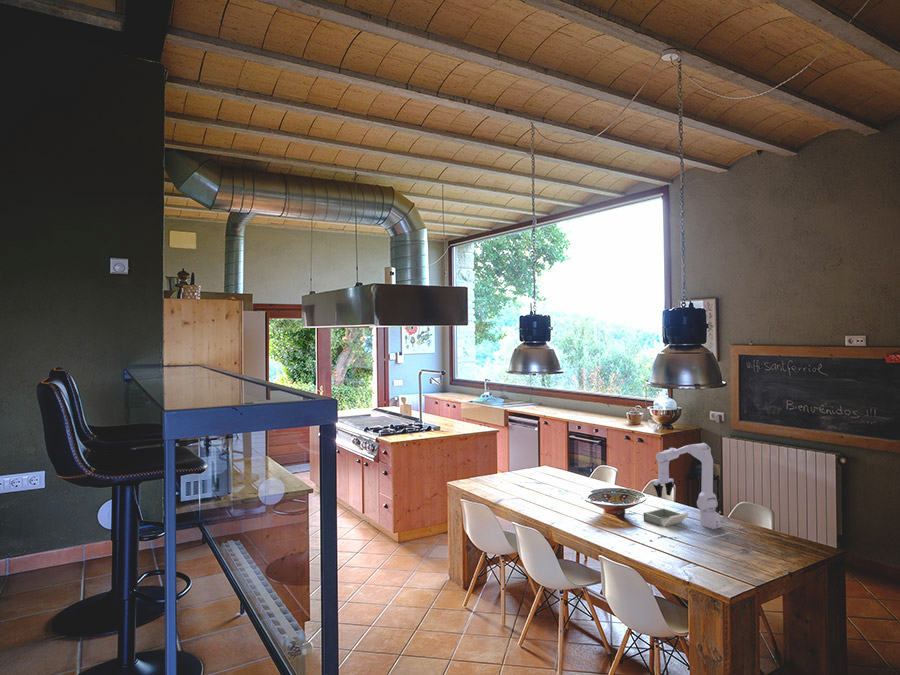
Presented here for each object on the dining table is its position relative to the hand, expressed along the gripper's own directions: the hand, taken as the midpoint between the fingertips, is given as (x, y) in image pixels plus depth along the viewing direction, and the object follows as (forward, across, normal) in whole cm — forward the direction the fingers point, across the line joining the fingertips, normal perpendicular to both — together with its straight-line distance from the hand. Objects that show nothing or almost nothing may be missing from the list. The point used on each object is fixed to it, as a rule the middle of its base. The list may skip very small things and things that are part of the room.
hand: (664, 496), depth 315 cm
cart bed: (+10, +15, +11) cm, 21 cm away
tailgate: (+7, +15, +20) cm, 26 cm away
